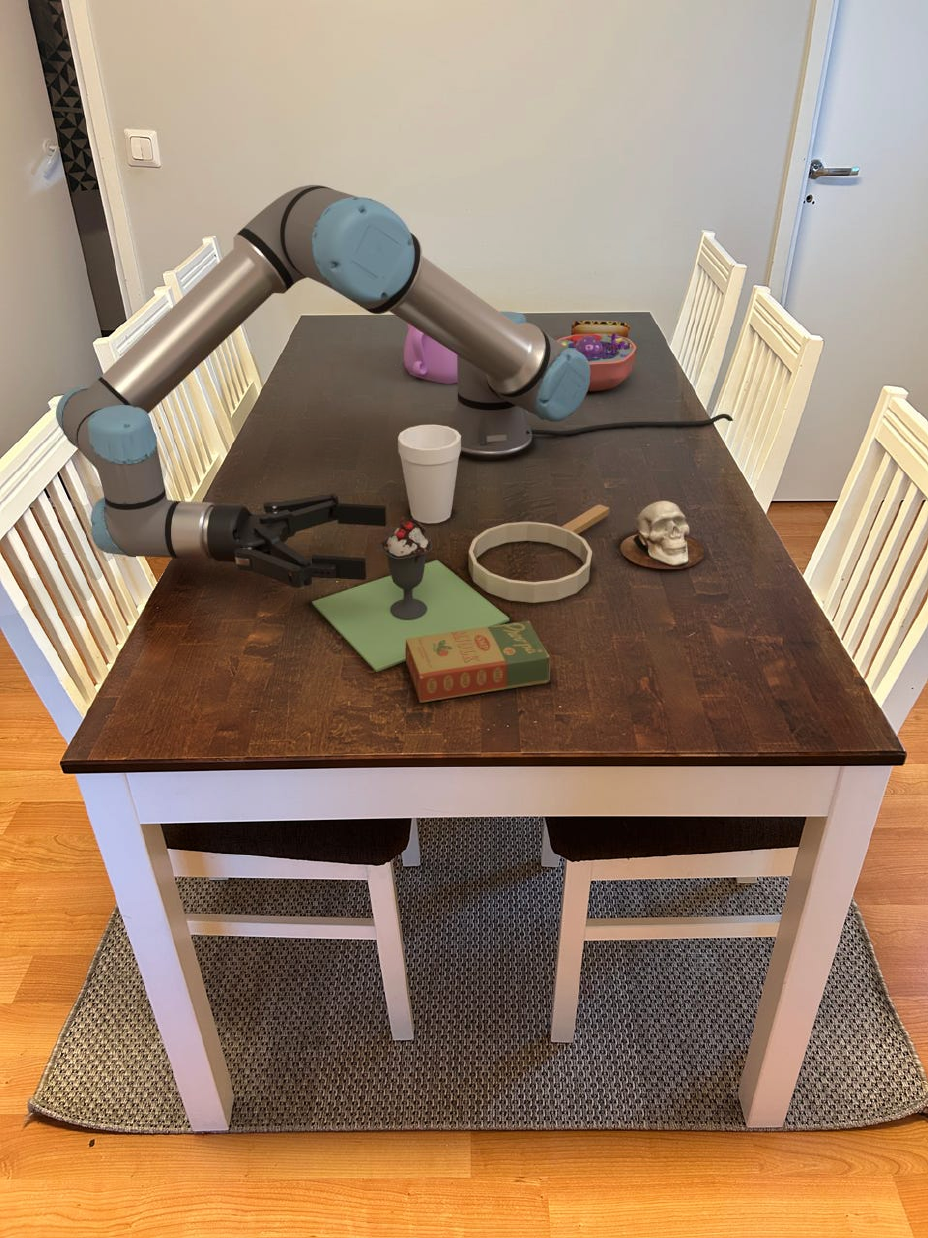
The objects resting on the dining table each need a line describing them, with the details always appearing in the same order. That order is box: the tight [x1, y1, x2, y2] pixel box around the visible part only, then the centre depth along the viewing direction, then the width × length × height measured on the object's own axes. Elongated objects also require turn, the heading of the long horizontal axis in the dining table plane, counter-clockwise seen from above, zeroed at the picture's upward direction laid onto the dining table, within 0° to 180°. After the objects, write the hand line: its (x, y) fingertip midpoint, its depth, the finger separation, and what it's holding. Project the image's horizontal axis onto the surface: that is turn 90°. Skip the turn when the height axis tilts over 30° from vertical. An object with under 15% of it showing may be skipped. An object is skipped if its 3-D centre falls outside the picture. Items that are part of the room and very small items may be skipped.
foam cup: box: [397, 424, 461, 524], centre depth 143 cm, size 10×9×13 cm
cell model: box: [556, 334, 637, 393], centre depth 189 cm, size 17×20×11 cm
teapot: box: [403, 322, 457, 385], centre depth 197 cm, size 19×21×14 cm
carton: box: [405, 620, 551, 704], centre depth 112 cm, size 8×16×4 cm, turn 105°
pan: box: [468, 503, 610, 604], centre depth 134 cm, size 26×17×3 cm, turn 123°
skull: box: [619, 500, 705, 570], centre depth 136 cm, size 12×10×10 cm
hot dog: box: [570, 319, 631, 338], centre depth 214 cm, size 5×13×5 cm, turn 84°
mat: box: [311, 559, 510, 673], centre depth 124 cm, size 20×18×1 cm
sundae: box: [379, 516, 433, 620], centre depth 120 cm, size 7×7×15 cm
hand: (376, 541), depth 119 cm, fingers open, 13 cm apart
